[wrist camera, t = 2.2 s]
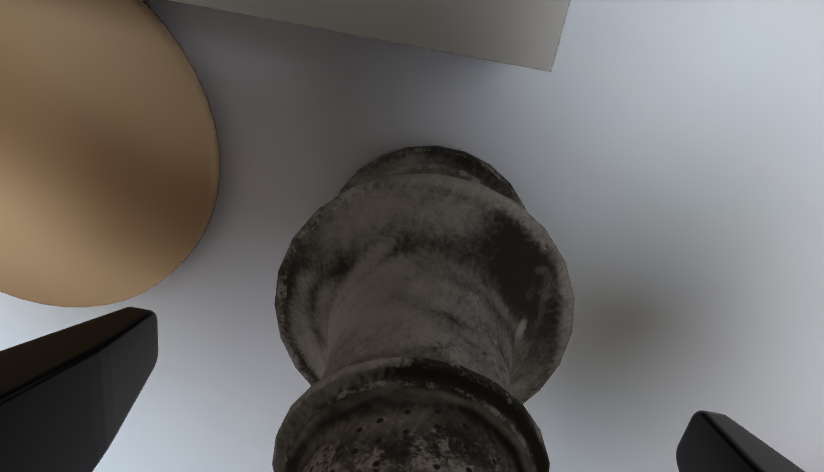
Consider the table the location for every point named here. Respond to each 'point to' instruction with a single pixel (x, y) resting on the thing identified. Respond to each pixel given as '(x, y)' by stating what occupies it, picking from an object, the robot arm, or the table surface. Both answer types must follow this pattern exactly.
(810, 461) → the table surface
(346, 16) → the breaker guard
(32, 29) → the coaster
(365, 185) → the salt shaker
